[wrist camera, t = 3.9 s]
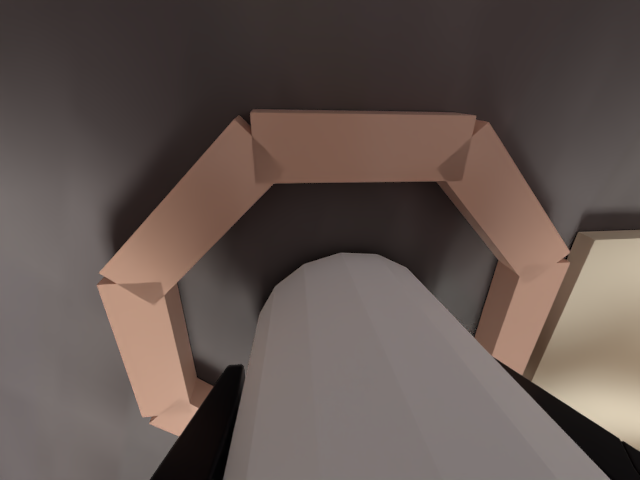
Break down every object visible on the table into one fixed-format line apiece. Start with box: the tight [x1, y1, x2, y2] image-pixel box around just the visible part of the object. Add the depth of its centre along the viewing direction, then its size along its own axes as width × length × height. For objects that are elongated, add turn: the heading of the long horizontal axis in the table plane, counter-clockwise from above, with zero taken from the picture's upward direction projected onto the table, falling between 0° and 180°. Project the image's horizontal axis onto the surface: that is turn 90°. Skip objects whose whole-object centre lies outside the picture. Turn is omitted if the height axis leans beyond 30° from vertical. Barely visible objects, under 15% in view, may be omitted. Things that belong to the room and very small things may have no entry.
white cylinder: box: [223, 253, 611, 480], centre depth 7 cm, size 7×7×7 cm
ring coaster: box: [97, 109, 570, 436], centre depth 10 cm, size 13×13×1 cm
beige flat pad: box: [522, 230, 640, 450], centre depth 13 cm, size 12×9×1 cm
